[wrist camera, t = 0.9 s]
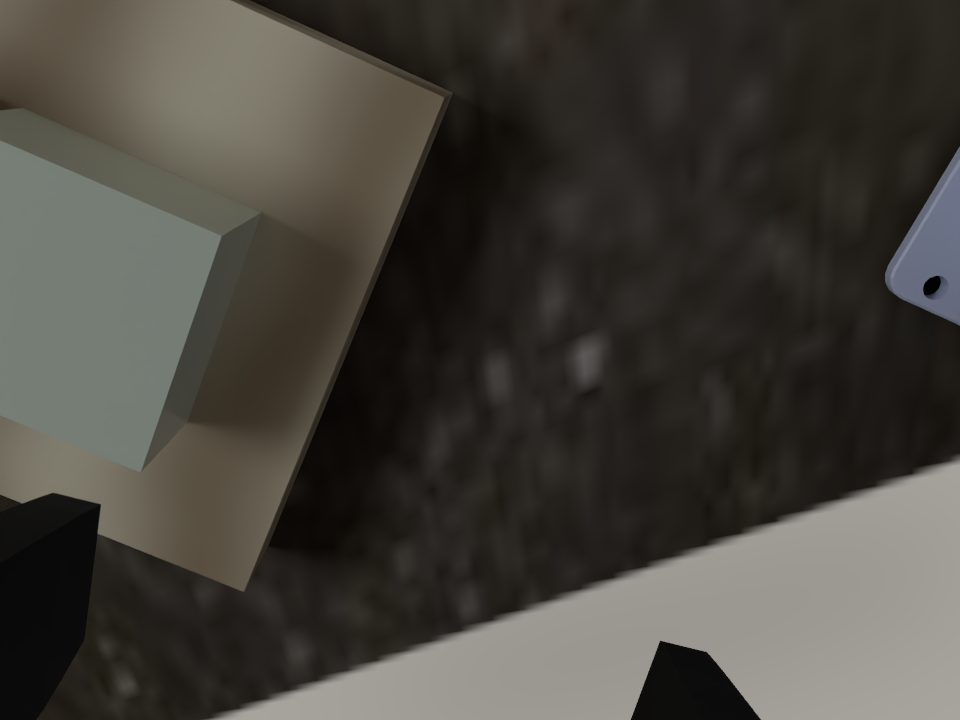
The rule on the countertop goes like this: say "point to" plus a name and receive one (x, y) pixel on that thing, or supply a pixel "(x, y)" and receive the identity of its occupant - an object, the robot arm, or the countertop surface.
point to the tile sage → (107, 288)
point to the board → (272, 253)
